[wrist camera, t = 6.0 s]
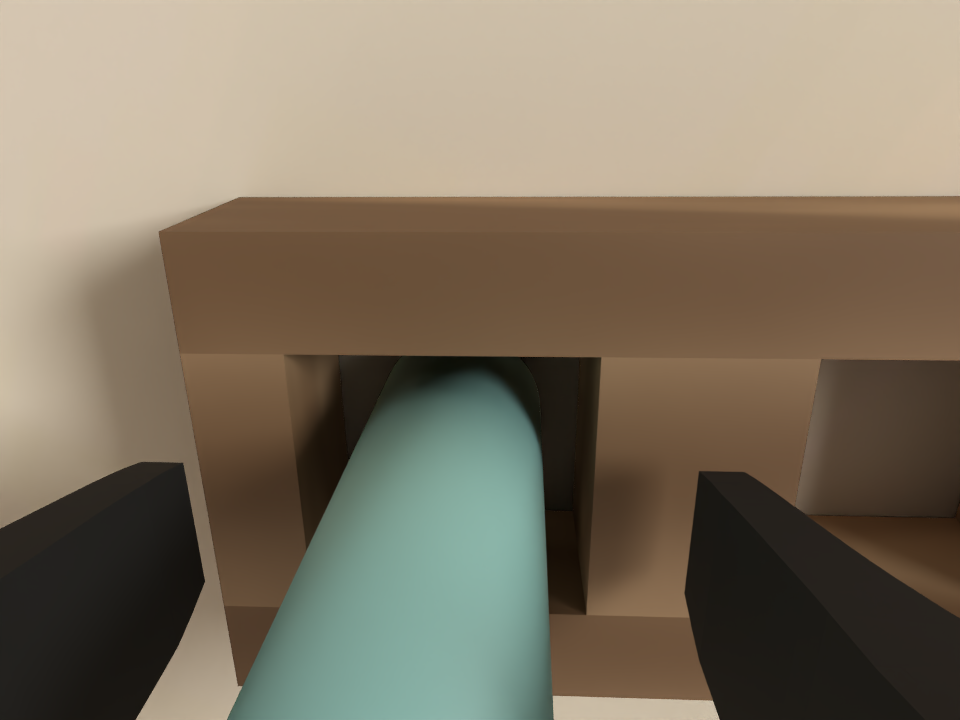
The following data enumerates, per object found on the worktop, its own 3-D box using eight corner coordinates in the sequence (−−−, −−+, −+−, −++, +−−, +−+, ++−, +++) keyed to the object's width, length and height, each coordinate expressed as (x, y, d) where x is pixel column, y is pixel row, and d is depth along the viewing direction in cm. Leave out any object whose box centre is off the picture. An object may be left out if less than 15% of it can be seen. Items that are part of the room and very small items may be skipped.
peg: (542, 472, 14) (568, 1052, 6) (392, 477, 14) (203, 1038, 6) (536, 328, 13) (556, 779, 5) (374, 336, 13) (110, 777, 5)
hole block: (1010, 591, 15) (1127, 713, 12) (288, 575, 15) (237, 686, 12) (1139, 196, 12) (1336, 233, 9) (238, 197, 12) (158, 231, 10)
